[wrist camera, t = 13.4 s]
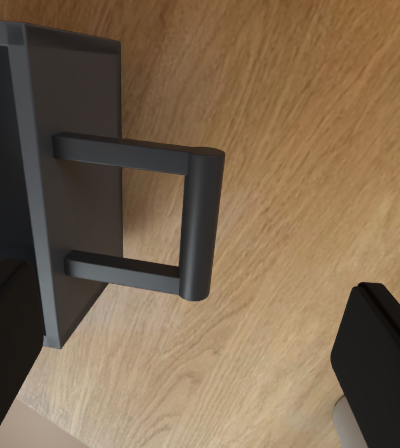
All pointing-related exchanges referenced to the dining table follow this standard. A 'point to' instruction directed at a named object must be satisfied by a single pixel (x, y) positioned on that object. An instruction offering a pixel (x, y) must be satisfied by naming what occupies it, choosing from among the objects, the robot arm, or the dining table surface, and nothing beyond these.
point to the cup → (347, 426)
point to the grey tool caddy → (86, 177)
